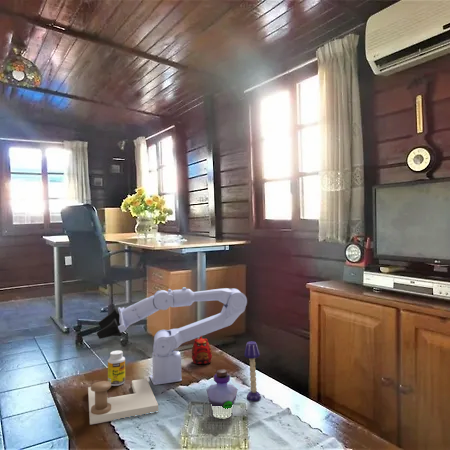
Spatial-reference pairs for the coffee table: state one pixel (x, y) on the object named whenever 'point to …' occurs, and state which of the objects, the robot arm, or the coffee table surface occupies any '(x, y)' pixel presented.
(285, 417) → the coffee table surface
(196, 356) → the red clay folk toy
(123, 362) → the supplement bottle
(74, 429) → the coffee table surface
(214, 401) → the potion bottle
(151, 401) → the notched board
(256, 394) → the toy lamp
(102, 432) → the coffee table surface
